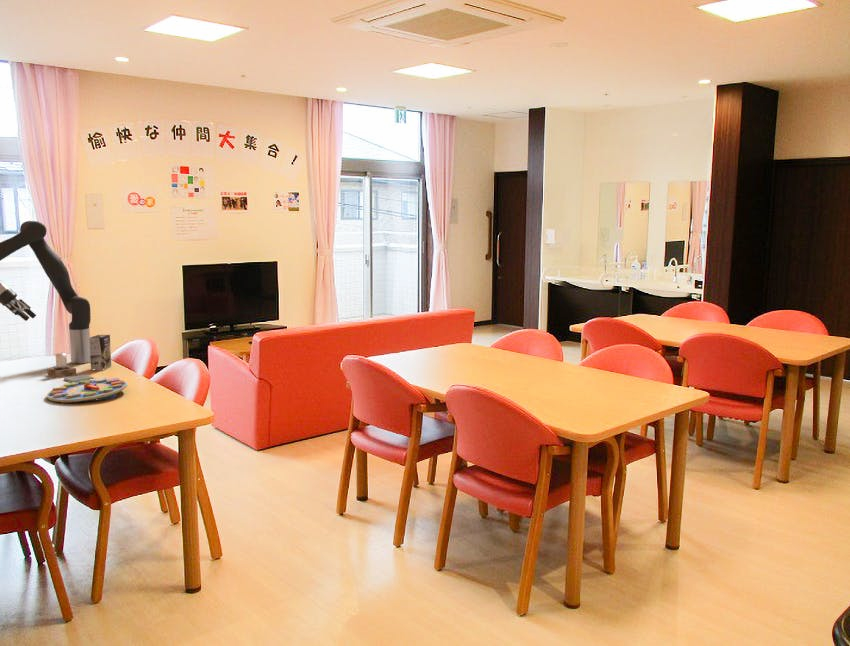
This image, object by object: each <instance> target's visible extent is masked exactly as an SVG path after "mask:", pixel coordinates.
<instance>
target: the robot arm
mask: <svg viewBox="0 0 850 646" xmlns="http://www.w3.org/2000/svg"><path fill="white" fill-rule="evenodd" d="M46 235H47V227H46V226H45V224H43V223H42V222H40V221H36V220H34V221H33V220H27V221H24V222H23V223H22V224H21V225H20V227H19V232H18V233H17V234H15V235H14V236H12V237H10V238H8V239H5V240H2V241H1V242H0V261H3V260H4V259H5V258H7V257H8V256H10V255H12V254H13V253H15V252H17V251H18V250H21V249H22V248H24V247H26V246H29V247H30V249H31V250H32V252H33V253H34V254H35V258H36V259H37V260H38V262H39V265H40V266H41V268H42V270H43V271H44V273H45V274H46V277H47V278H48V279H49V280H50V282H51V284H52V286H53V287H54V289H55V290H56V292H57V293H58V296H59V297H60V299H61V302H62V304H63V306H64V308H65V310H66V312H67V313H68V314H70V315H71V321H70V322H69V324H68V329H69V333H68V334H69V346H70V347H69V348H70V362H71V364H75V363H80V364H88V363H91V361H90V340H89V338H90V337H91V335H90V324H91V318H92V317H91V304H90V302H89V300H88V299H87V298H85V297H80V296H79V295H78V294H77V293H76V291H75V289H74V288H73V286H72V283H71V279H70V274H69V271H68V269H67V267H66V265H65V264H64V262H63V260H62V259H61V258H60V257H59V255H58V254H57V253H56V252H55V251H54V250H53V249H52V248H51V247H50V246H49V244H48V243H47V241H46V240H45V237H46ZM17 297H18V294H17V292H15V291H14V290H13V289H11V288H10V287H9V286H8V285H7V284H5V283H4V282H3V281H2V280H0V304H1V305H2V306H4V307H6V309H8V310H9V311H10V313H11V312H12V314H14V315H15V316H18V317H20V318H21V319H22V320H23V321H25V322H26V321H28V320H29V319H30V318H32V319H35V317H37V314H36V313H35V312H34V311H32V310H31V308H32V307H31V306H30V305H28V304H27V303H26V301H24V300H23V299H21V298H20V299H17ZM87 362H88V363H87Z"/></svg>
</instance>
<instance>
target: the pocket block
mask: <svg viewBox="0 0 850 646" xmlns="http://www.w3.org/2000/svg"><path fill="white" fill-rule="evenodd" d="M46 371H47V376H49V375H50V377H53V376H54V377H53V378H56V377H59V378H64V377H63V376H65V377H69V376H68V375H71V376H74V375H73V374H76V375H77V368H76V367H73V366H70V365H67V369H64V370H56V366H55V367H50V368H49V367H48V368H47V370H46Z"/></svg>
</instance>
